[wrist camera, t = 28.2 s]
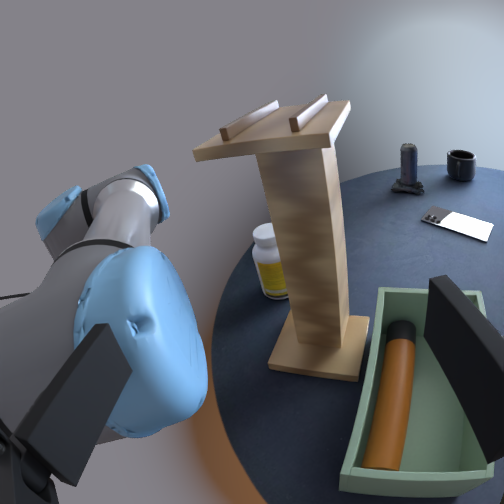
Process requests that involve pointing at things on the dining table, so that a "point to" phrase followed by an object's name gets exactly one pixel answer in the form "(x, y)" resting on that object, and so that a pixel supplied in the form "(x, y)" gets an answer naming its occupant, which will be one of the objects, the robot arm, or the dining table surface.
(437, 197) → the dining table surface
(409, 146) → the dark grey pillar
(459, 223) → the smartphone
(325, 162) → the stand
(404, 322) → the orange brown cylinder
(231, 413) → the dining table surface
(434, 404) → the bin
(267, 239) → the pill bottle
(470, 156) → the mug
